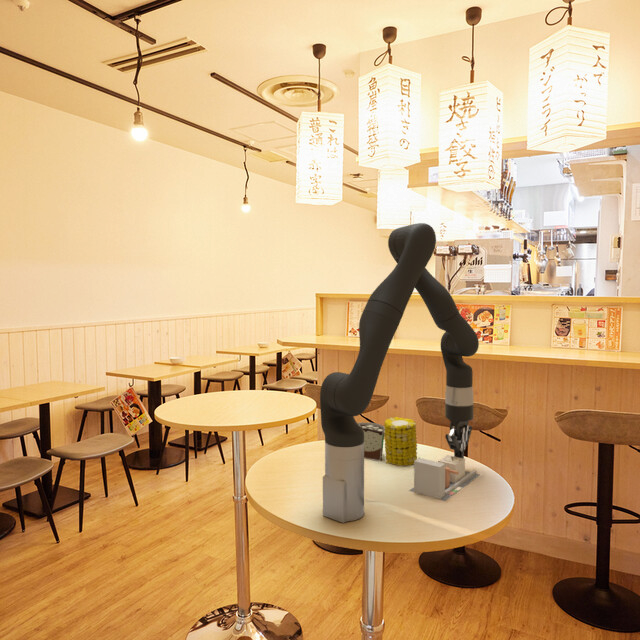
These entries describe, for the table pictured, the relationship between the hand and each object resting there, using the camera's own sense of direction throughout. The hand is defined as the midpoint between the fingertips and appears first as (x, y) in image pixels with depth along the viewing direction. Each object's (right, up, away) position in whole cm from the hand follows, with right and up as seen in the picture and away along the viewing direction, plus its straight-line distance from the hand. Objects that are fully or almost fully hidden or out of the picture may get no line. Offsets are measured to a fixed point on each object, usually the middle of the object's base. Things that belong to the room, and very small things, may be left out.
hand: (459, 462), depth 137 cm
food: (-15, -4, +11) cm, 19 cm away
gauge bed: (-5, -5, -6) cm, 9 cm away
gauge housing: (-4, -3, -5) cm, 7 cm away
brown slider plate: (-6, -3, -10) cm, 12 cm away
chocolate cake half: (-23, -4, +20) cm, 30 cm away
